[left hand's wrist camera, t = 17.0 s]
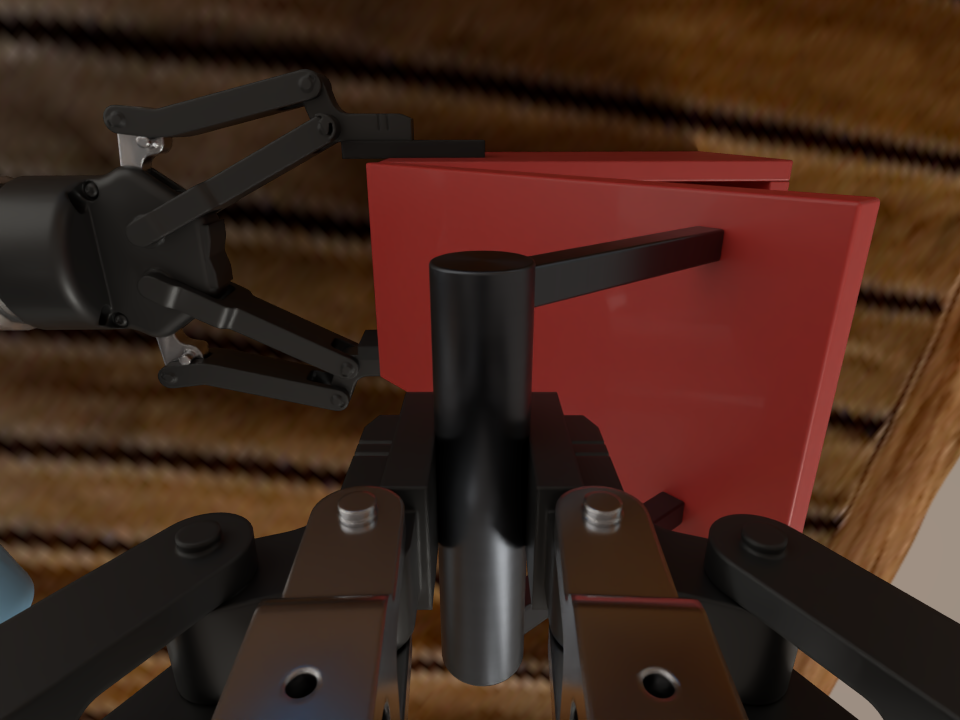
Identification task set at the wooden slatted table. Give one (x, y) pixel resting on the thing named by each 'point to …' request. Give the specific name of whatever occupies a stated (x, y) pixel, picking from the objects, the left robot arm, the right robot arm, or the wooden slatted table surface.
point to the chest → (635, 166)
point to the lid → (607, 353)
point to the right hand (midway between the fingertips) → (483, 251)
